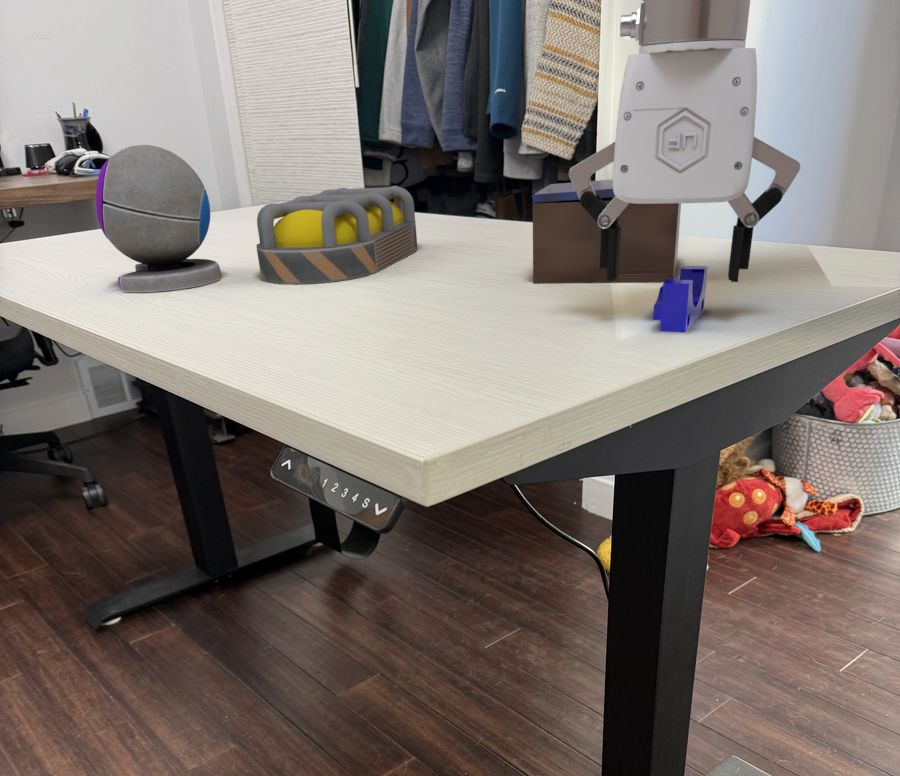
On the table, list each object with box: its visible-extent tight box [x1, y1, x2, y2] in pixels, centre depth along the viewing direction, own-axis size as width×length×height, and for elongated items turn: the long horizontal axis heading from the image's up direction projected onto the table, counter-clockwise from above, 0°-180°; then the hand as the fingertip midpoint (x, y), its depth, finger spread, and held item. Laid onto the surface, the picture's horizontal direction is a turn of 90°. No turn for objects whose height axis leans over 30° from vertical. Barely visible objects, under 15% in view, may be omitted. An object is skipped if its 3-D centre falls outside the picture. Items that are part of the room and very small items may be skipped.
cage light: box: [256, 185, 418, 285], centre depth 110 cm, size 15×8×30 cm
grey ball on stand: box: [95, 144, 222, 293], centre depth 102 cm, size 13×13×15 cm
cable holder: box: [652, 265, 709, 333], centre depth 71 cm, size 8×4×4 cm, turn 155°
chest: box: [532, 197, 682, 284], centre depth 93 cm, size 15×12×8 cm
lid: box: [532, 178, 615, 204], centre depth 90 cm, size 15×12×6 cm
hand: (671, 278), depth 71 cm, fingers open, 9 cm apart
